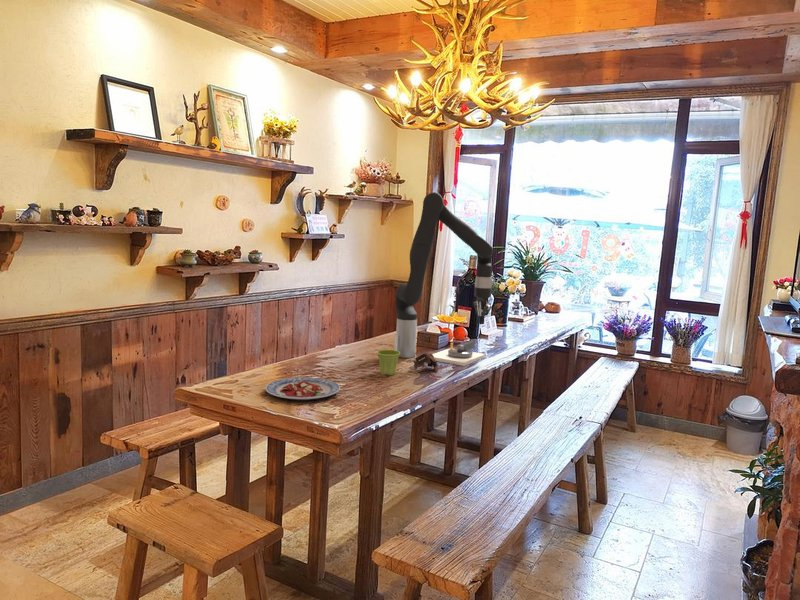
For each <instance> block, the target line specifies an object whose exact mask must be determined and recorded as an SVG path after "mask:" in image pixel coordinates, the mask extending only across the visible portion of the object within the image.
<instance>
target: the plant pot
mask: <svg viewBox="0 0 800 600" xmlns="http://www.w3.org/2000/svg"><path fill="white" fill-rule="evenodd" d="M376 354H377V357H378V363H379V372H380V374H381V375H383V376H384V375H388V376H392V375H395V374H396V371H397V367H398V366H397V365H398V360H399V359H398V358H400V357H399V354H400V352H399V351H395V349H382V350H377V351H376Z"/></svg>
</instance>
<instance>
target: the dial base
mask: <svg viewBox="0 0 800 600" xmlns="http://www.w3.org/2000/svg"><path fill="white" fill-rule="evenodd" d="M451 349H454V343H453V342H450V347H448V348H446V349H444V350H441V351H438V352H435V353H431V354H432V355H433V356H434V359H435V360H436V362H440V363H445V364H451V365H457V366H461V367H465V366H467V365H470V364H472V363H475V362H477V361H480V360H482V359H484V358H486V353H482V352H475V351H472V352H473V353H472V357H468V358H458V357H452V356H449V355H448V351H449V350H451Z"/></svg>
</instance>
